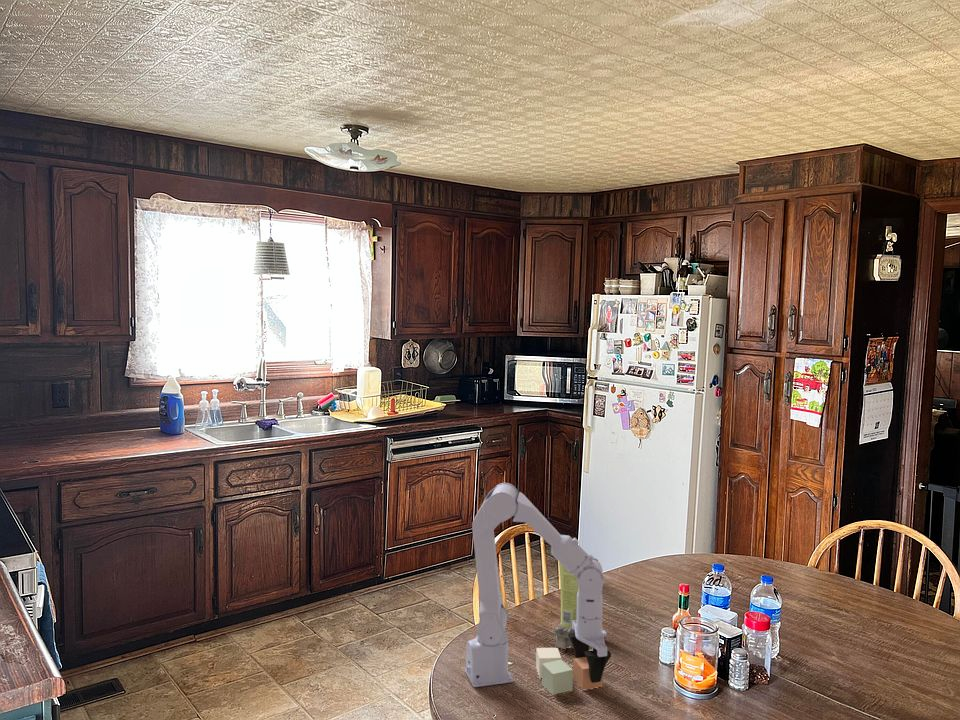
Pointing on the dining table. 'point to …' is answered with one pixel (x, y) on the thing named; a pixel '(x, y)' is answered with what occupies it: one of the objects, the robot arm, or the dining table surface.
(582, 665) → the terracotta block
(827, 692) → the dining table surface
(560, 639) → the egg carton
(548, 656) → the cream block
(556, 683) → the sage block
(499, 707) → the dining table surface
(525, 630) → the dining table surface
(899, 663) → the dining table surface
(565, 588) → the tube
